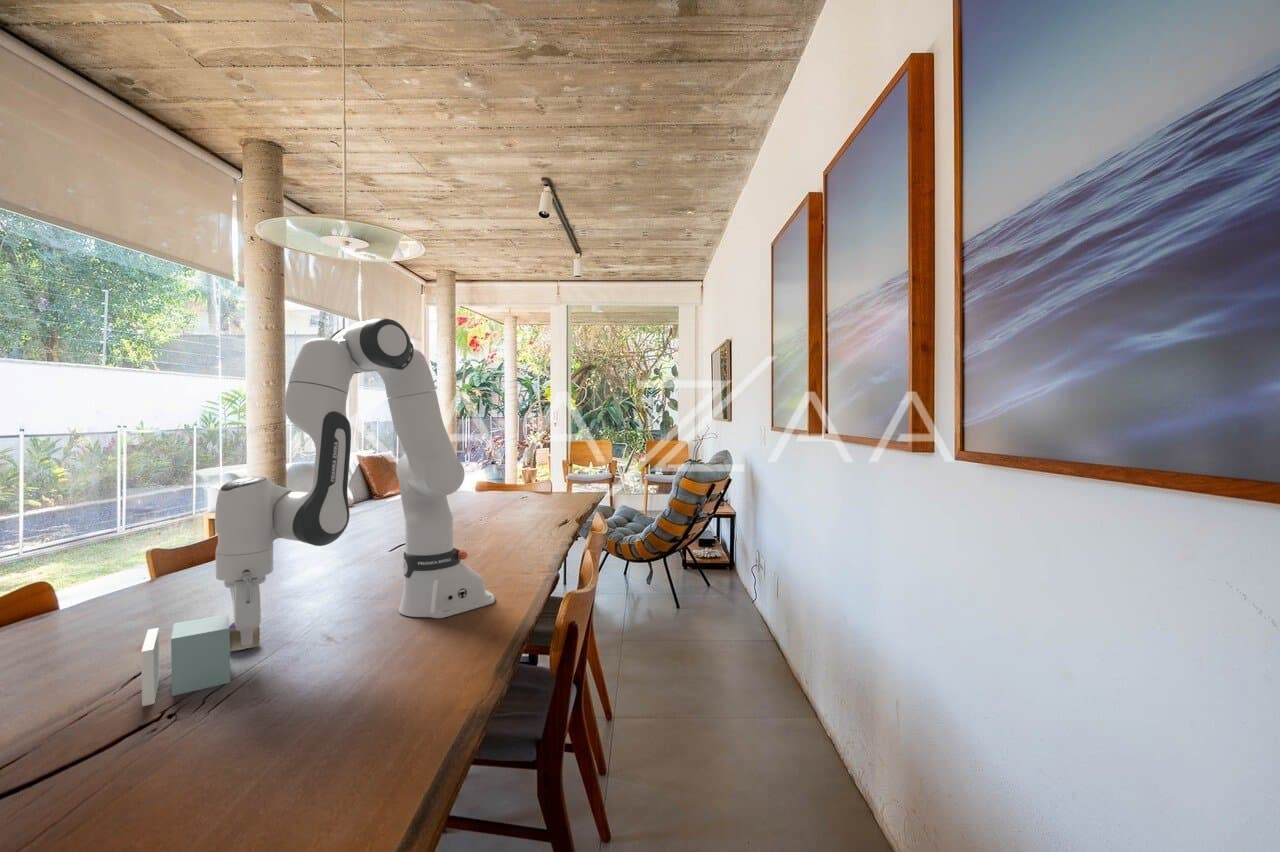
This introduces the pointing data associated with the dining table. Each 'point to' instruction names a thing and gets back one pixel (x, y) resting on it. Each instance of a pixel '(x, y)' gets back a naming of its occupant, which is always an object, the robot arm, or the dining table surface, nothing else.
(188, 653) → the block
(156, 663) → the slab
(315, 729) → the dining table surface
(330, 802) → the dining table surface
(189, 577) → the dining table surface
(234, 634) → the dowel
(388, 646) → the dining table surface
